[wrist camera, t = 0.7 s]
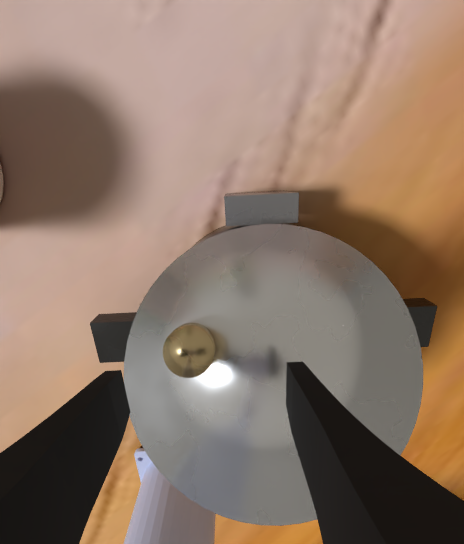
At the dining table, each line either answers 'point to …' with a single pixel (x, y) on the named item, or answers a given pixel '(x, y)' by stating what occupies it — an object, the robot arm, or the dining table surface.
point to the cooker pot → (239, 213)
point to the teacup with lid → (1, 183)
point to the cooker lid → (264, 363)
